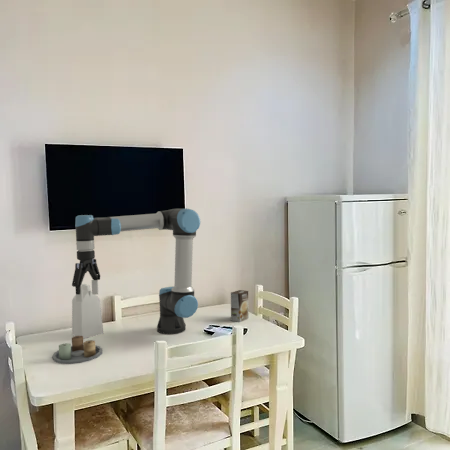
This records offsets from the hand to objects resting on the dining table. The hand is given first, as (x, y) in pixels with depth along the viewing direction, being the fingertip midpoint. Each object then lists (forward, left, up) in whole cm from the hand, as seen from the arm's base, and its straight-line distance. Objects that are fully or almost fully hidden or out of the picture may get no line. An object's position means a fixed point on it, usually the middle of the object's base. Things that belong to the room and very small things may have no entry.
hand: (87, 297), depth 189 cm
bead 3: (0, 0, -26) cm, 26 cm away
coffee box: (-57, -66, -27) cm, 91 cm away
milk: (+18, -30, -27) cm, 44 cm away
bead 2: (+9, -5, -26) cm, 28 cm away
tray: (+6, 0, -27) cm, 27 cm away
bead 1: (+9, +5, -26) cm, 28 cm away
